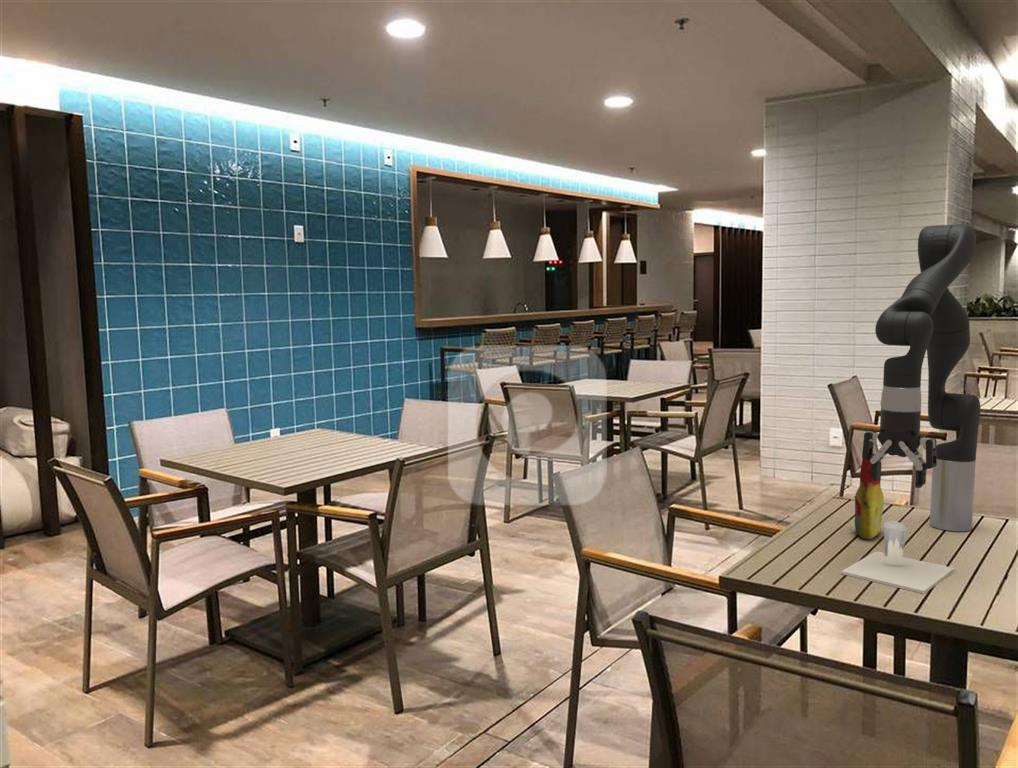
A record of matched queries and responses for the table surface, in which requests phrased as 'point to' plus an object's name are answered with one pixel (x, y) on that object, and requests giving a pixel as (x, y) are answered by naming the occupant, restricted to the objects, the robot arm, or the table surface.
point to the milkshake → (894, 542)
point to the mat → (899, 572)
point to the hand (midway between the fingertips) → (897, 483)
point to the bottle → (868, 504)
